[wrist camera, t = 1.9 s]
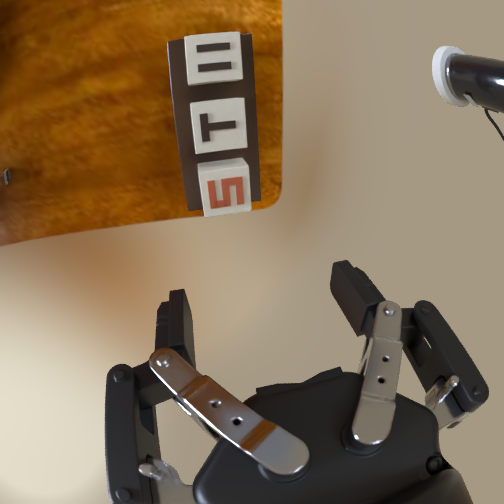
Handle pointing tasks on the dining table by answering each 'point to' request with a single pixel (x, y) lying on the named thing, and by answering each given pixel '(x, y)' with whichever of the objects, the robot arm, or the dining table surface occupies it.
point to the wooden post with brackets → (5, 177)
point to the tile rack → (205, 92)
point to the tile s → (225, 187)
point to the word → (221, 110)
